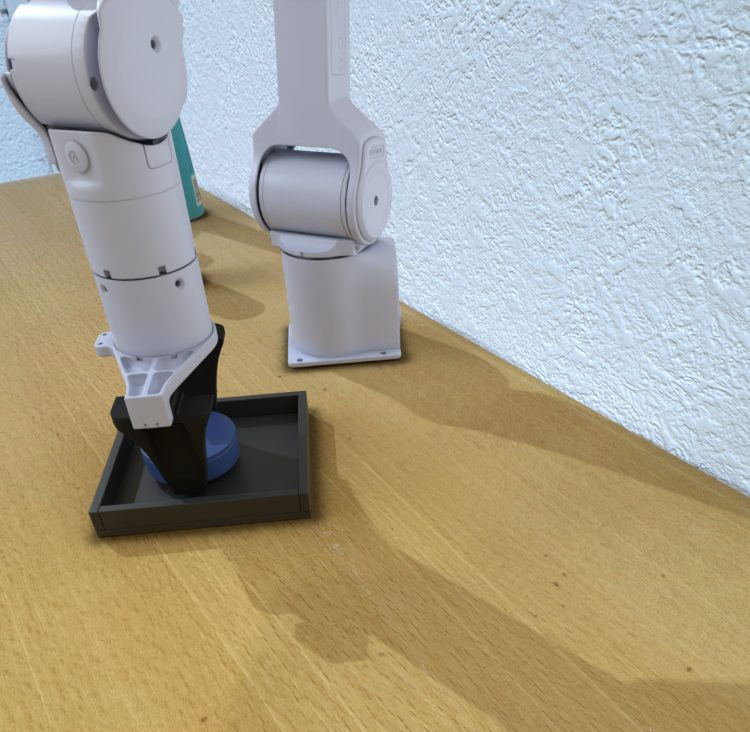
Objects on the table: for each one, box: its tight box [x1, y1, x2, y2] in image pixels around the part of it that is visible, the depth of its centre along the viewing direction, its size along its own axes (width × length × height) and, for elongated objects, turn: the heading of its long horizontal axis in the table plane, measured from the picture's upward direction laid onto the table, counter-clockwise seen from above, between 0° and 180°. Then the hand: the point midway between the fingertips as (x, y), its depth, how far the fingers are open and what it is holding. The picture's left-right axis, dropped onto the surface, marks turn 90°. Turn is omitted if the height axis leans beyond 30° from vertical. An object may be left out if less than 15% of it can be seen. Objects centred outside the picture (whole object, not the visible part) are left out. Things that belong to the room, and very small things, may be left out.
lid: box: [140, 411, 240, 484], centre depth 46 cm, size 6×6×2 cm
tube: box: [171, 116, 205, 221], centre depth 85 cm, size 7×5×19 cm, turn 31°
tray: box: [88, 390, 313, 538], centre depth 47 cm, size 13×12×2 cm
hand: (196, 459), depth 47 cm, fingers closed on lid, 6 cm apart
